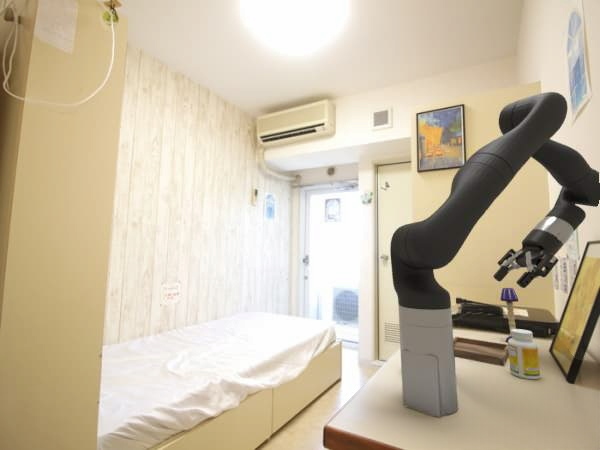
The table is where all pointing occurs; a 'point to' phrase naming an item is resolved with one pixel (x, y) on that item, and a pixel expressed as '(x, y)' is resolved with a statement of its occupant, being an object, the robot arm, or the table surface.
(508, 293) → the toy lamp
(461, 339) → the tray
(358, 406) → the table surface
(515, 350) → the supplement bottle
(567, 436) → the table surface
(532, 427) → the table surface
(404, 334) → the robot arm
